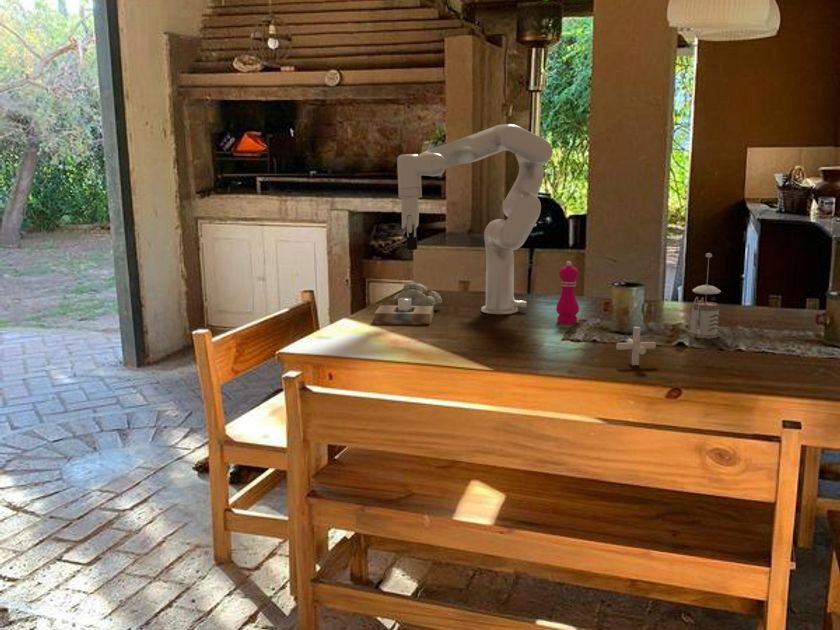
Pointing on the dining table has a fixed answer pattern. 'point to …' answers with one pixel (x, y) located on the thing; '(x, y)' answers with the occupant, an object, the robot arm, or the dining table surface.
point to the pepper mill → (567, 295)
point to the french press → (705, 310)
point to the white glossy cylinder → (404, 305)
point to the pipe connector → (636, 345)
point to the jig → (404, 315)
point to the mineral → (418, 295)
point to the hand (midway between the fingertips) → (412, 249)
